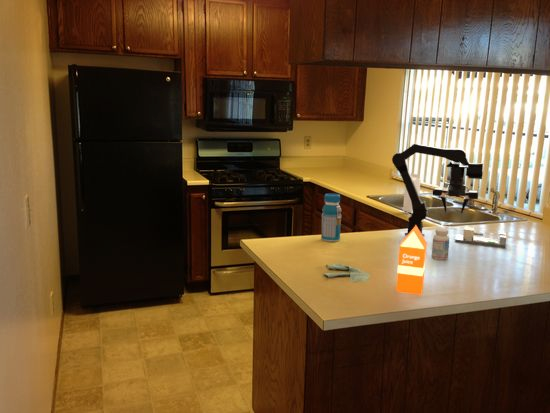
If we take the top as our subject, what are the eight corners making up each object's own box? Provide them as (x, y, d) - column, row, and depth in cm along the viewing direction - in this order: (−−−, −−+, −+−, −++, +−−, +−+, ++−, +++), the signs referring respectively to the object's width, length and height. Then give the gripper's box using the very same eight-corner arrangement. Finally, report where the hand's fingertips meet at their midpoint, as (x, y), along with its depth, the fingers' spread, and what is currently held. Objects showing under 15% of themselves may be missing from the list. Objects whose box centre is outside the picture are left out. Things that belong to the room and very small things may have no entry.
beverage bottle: (324, 242, 211) (326, 196, 207) (318, 237, 219) (320, 193, 215) (342, 241, 212) (345, 196, 209) (336, 236, 220) (338, 192, 217)
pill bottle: (442, 255, 195) (445, 227, 193) (450, 259, 189) (453, 231, 187) (428, 255, 194) (430, 228, 192) (436, 260, 188) (438, 231, 186)
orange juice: (395, 291, 155) (400, 229, 151) (399, 282, 163) (403, 223, 159) (421, 294, 152) (426, 231, 148) (423, 285, 160) (428, 225, 157)
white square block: (462, 239, 214) (463, 230, 213) (463, 235, 221) (464, 226, 221) (482, 241, 211) (483, 232, 210) (483, 237, 218) (484, 228, 217)
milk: (411, 214, 274) (414, 174, 269) (402, 212, 278) (405, 173, 274) (418, 213, 277) (421, 174, 273) (409, 211, 282) (412, 172, 278)
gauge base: (455, 242, 216) (455, 232, 215) (456, 236, 225) (457, 227, 224) (505, 247, 208) (506, 237, 207) (505, 242, 217) (506, 232, 216)
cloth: (372, 286, 161) (372, 279, 160) (305, 281, 164) (305, 274, 164) (371, 267, 180) (371, 261, 180) (311, 263, 184) (312, 257, 184)
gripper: (432, 178, 212) (429, 213, 215) (479, 181, 205) (475, 218, 208) (435, 175, 222) (432, 209, 225) (480, 178, 215) (476, 213, 218)
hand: (453, 212), depth 219 cm, fingers open, 6 cm apart
